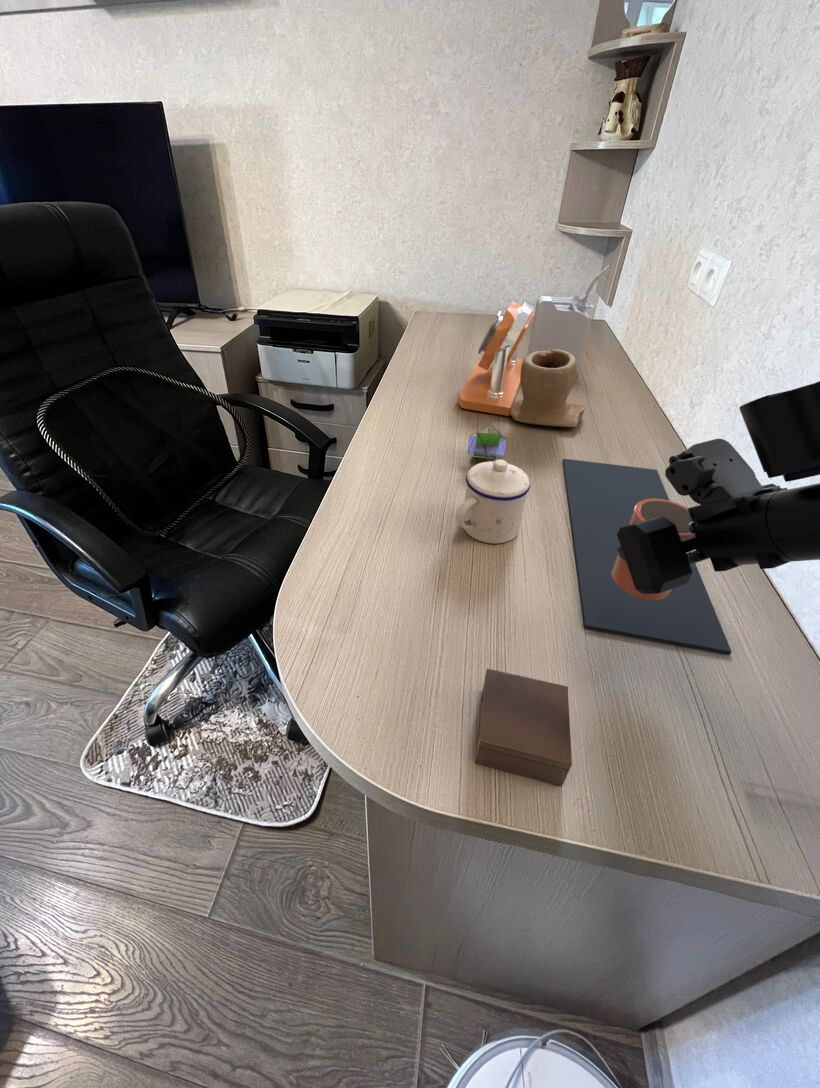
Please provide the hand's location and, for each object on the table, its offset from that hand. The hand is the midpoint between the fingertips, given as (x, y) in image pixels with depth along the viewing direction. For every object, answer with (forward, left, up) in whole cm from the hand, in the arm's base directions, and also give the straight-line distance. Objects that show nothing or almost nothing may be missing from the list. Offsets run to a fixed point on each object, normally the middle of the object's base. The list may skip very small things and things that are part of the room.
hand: (642, 545), depth 55 cm
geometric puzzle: (+31, -23, -13) cm, 41 cm away
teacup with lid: (+21, -5, -13) cm, 25 cm away
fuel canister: (+40, -76, -13) cm, 87 cm away
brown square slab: (+2, +21, -13) cm, 24 cm away
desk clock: (+46, -54, -13) cm, 72 cm away
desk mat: (+4, -18, -13) cm, 23 cm away
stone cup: (+29, -45, -13) cm, 55 cm away
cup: (-1, +1, -4) cm, 4 cm away
